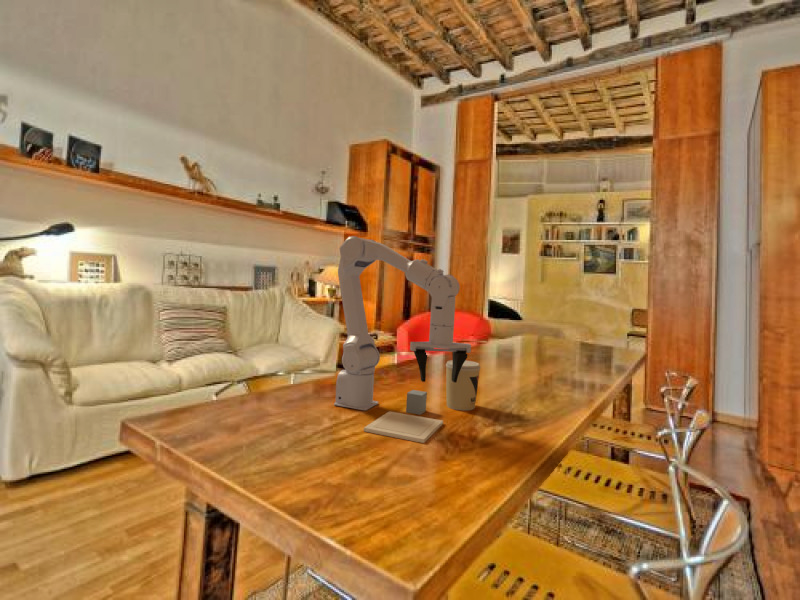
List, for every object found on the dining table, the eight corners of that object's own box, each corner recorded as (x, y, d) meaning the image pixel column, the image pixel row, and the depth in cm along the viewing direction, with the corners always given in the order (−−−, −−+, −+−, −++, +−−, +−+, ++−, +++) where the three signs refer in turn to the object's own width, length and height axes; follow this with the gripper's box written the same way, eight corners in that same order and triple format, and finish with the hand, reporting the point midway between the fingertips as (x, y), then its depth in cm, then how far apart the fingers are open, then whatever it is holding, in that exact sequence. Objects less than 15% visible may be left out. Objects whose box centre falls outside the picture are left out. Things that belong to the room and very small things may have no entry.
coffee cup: (477, 413, 116) (480, 367, 115) (441, 409, 118) (444, 364, 117) (478, 403, 125) (481, 361, 124) (445, 400, 127) (447, 358, 126)
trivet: (363, 431, 98) (363, 427, 98) (389, 414, 111) (389, 410, 111) (423, 443, 92) (423, 439, 92) (442, 423, 105) (443, 420, 105)
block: (406, 412, 113) (407, 393, 113) (411, 408, 117) (412, 389, 117) (420, 415, 112) (421, 395, 111) (425, 410, 115) (426, 392, 115)
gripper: (415, 325, 101) (411, 384, 102) (476, 328, 103) (472, 385, 104) (410, 322, 108) (406, 377, 109) (467, 324, 110) (464, 378, 111)
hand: (438, 381), depth 107 cm, fingers open, 7 cm apart
